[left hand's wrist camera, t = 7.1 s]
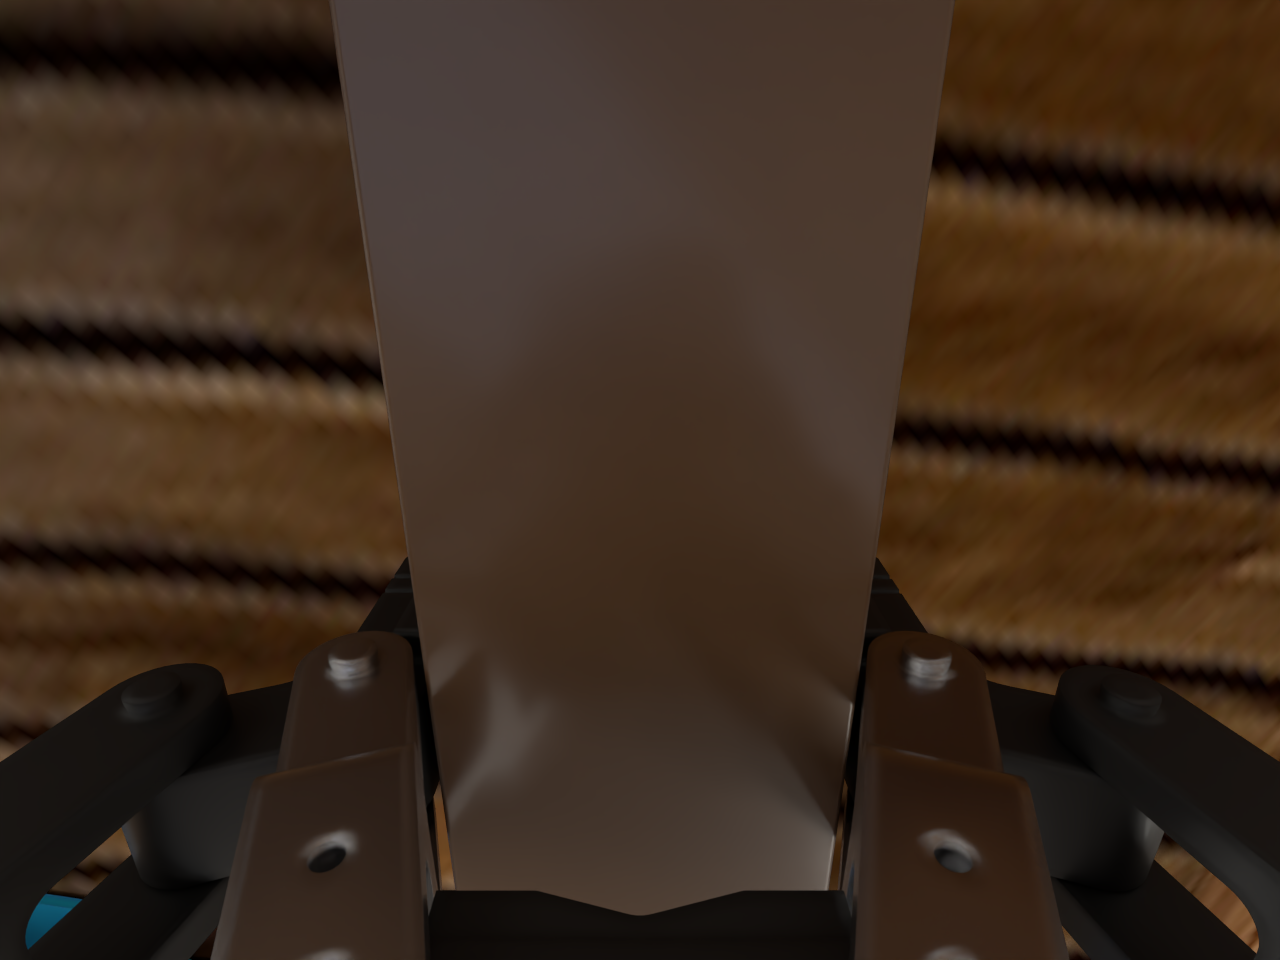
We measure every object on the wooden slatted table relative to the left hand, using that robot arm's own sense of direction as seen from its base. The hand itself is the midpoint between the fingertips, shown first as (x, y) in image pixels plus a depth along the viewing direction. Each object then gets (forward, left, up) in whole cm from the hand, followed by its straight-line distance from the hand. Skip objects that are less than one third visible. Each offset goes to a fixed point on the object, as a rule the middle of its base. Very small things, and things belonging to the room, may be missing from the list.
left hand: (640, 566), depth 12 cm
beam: (+23, +5, -3) cm, 24 cm away
